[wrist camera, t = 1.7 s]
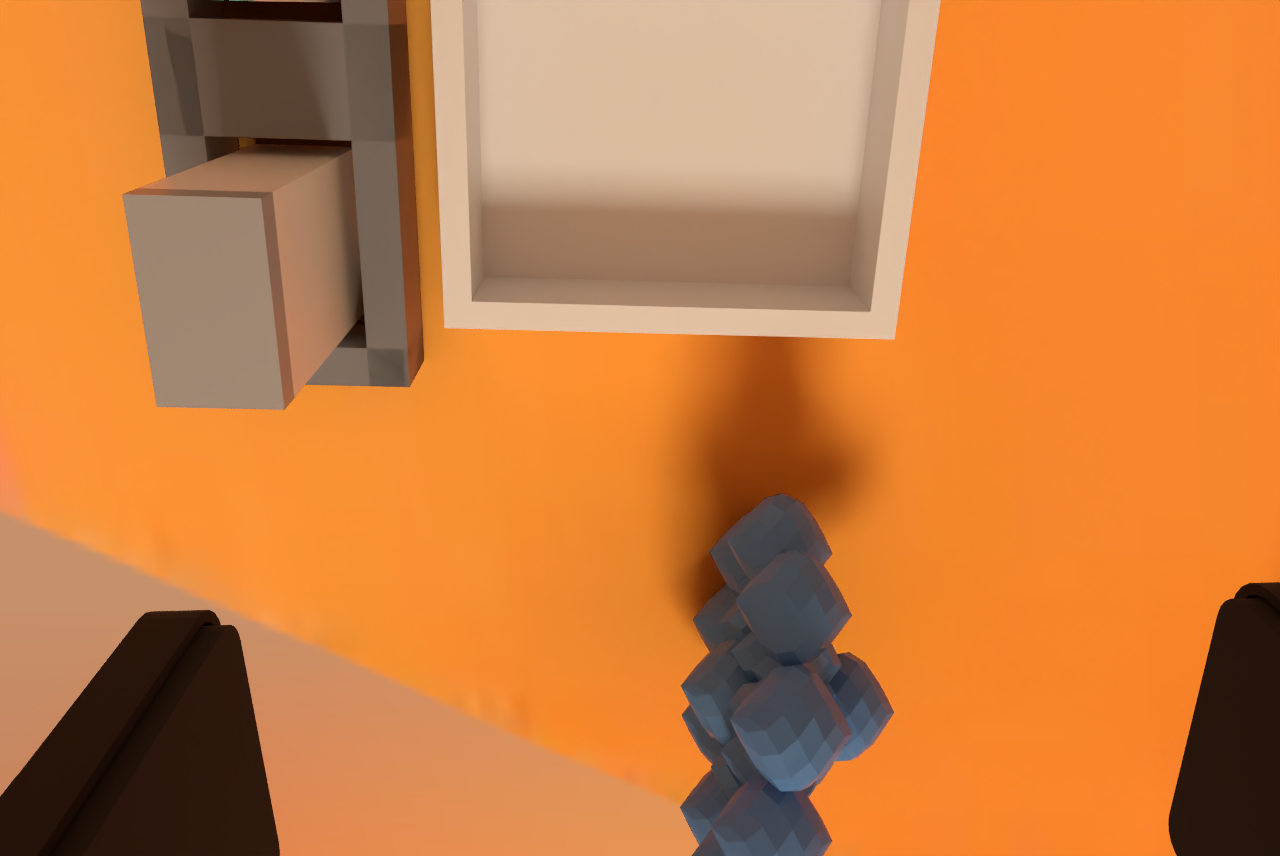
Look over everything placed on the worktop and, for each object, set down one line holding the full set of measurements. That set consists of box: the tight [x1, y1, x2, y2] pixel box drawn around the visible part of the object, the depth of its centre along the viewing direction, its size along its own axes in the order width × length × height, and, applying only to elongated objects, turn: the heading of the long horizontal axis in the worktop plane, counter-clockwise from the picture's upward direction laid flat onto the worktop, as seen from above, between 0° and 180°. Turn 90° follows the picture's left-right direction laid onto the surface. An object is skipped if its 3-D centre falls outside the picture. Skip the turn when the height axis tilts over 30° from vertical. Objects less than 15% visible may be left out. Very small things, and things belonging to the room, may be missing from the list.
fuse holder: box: [140, 0, 424, 387], centre depth 28 cm, size 17×6×2 cm, turn 178°
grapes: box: [680, 494, 894, 856], centre depth 31 cm, size 12×7×12 cm, turn 170°
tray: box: [430, 0, 941, 339], centre depth 28 cm, size 13×13×4 cm
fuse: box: [123, 144, 364, 410], centre depth 27 cm, size 5×3×9 cm, turn 178°
